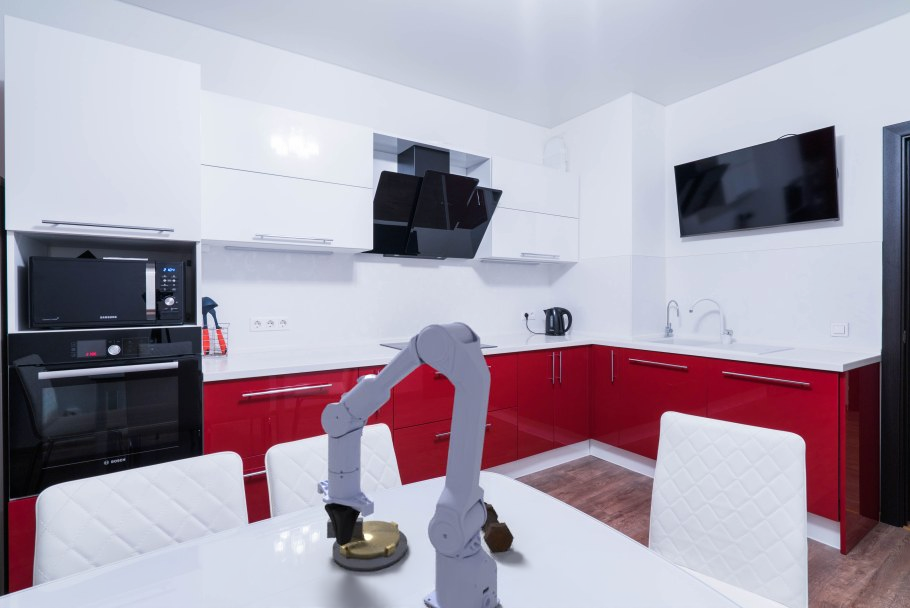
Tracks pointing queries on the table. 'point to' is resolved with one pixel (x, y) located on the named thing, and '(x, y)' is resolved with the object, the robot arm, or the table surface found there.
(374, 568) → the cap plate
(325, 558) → the table surface
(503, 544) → the bolt
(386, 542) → the tabbed brass dial
